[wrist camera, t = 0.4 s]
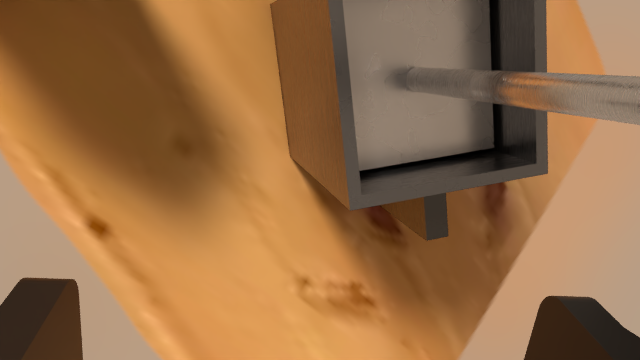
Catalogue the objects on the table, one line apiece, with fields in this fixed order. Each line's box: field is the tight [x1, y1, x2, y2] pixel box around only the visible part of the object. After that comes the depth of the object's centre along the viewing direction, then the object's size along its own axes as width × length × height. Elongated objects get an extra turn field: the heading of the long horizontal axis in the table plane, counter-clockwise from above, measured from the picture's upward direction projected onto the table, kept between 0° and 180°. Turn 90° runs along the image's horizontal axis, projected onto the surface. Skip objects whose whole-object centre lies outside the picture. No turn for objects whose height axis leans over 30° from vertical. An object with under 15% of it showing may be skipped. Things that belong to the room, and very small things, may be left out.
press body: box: [270, 0, 548, 240], centre depth 31 cm, size 13×10×14 cm
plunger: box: [343, 0, 640, 171], centre depth 18 cm, size 8×8×21 cm
